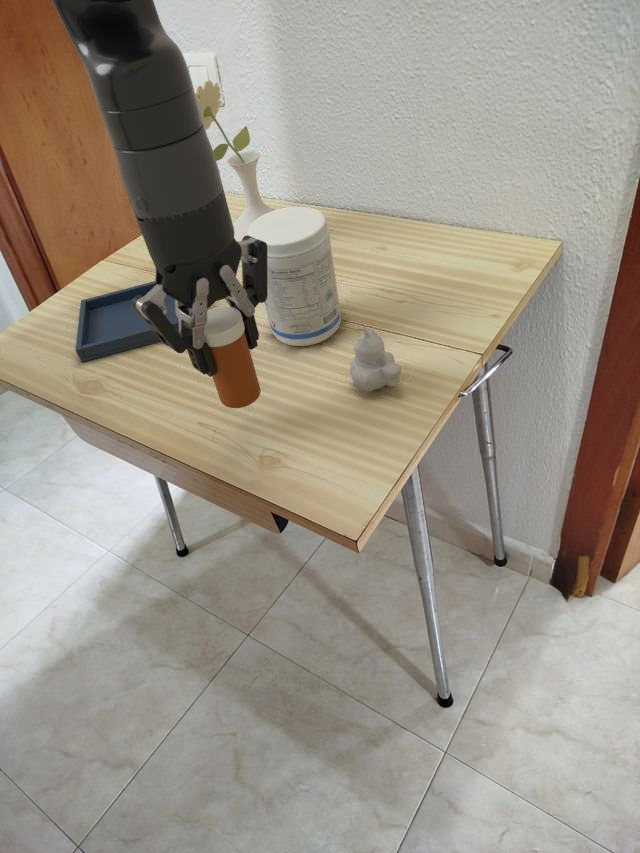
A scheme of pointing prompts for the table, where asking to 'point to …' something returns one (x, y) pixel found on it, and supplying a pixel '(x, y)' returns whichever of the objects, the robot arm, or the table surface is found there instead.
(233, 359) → the pill bottle
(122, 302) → the tray
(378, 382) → the grey figurine
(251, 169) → the flower in vase
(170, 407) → the table surface
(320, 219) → the supplement tub
